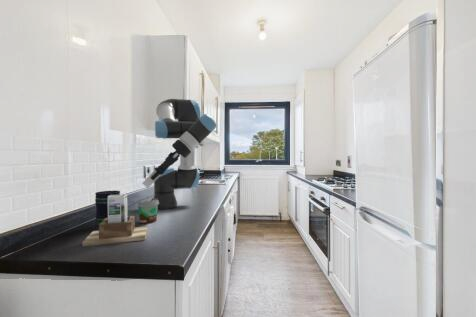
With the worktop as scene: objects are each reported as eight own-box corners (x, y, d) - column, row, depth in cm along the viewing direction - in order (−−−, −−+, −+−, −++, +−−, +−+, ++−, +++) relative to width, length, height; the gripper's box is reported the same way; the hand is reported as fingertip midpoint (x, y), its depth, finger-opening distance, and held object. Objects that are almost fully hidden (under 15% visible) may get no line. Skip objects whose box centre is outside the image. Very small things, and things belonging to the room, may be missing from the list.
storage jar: (92, 226, 107) (91, 192, 107) (115, 221, 115) (115, 189, 115) (100, 230, 101) (99, 194, 101) (124, 225, 108) (124, 191, 108)
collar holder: (93, 234, 95) (92, 218, 95) (147, 229, 101) (147, 214, 101) (82, 246, 82) (82, 227, 82) (145, 239, 88) (145, 222, 88)
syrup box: (107, 236, 88) (106, 196, 88) (112, 231, 94) (111, 194, 94) (124, 235, 90) (123, 195, 89) (128, 230, 95) (127, 193, 95)
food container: (150, 225, 107) (149, 202, 107) (137, 224, 109) (137, 202, 108) (164, 218, 119) (163, 198, 119) (152, 218, 121) (152, 197, 121)
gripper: (195, 150, 88) (152, 194, 83) (188, 152, 111) (154, 186, 107) (180, 136, 86) (135, 180, 82) (176, 140, 110) (141, 174, 106)
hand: (146, 183), depth 95 cm, fingers open, 13 cm apart
